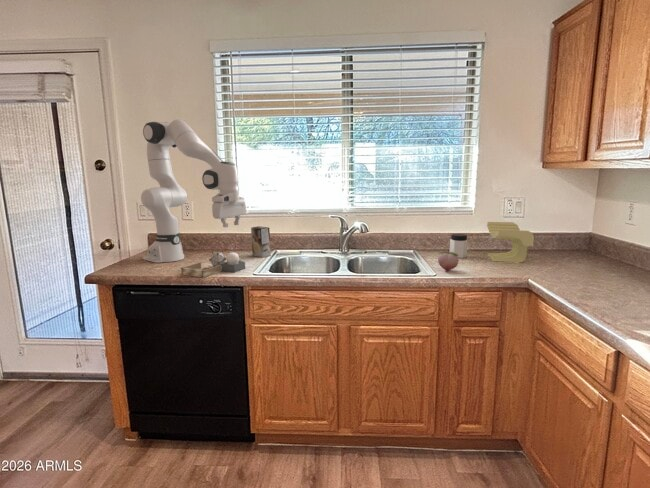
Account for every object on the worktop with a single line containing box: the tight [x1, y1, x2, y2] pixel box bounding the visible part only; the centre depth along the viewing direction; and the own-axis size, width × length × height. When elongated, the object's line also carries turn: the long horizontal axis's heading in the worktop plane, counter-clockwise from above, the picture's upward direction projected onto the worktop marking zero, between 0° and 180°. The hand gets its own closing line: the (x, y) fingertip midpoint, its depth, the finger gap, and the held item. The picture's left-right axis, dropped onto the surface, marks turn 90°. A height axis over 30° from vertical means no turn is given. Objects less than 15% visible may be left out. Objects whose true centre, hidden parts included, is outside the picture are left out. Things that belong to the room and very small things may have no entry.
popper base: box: [221, 260, 246, 273], centre depth 187 cm, size 8×8×4 cm
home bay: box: [180, 262, 222, 278], centre depth 182 cm, size 14×12×3 cm
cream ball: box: [226, 252, 240, 265], centre depth 187 cm, size 6×6×7 cm
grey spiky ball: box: [208, 250, 227, 267], centre depth 192 cm, size 9×8×10 cm
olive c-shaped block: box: [486, 221, 535, 263], centre depth 202 cm, size 30×16×18 cm, turn 167°
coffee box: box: [250, 225, 272, 258], centre depth 217 cm, size 9×6×16 cm
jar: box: [449, 233, 469, 259], centre depth 210 cm, size 9×8×12 cm
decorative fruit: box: [437, 249, 459, 272], centre depth 181 cm, size 9×8×10 cm
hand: (231, 226), depth 184 cm, fingers open, 6 cm apart
